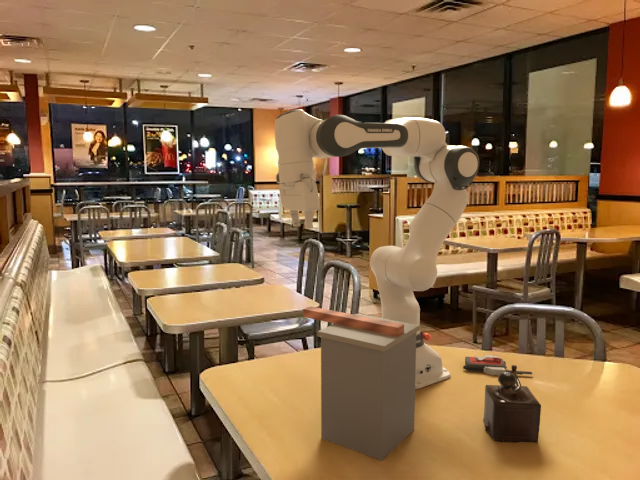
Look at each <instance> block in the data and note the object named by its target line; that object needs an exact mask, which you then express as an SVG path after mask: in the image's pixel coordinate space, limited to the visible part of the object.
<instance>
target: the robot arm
mask: <svg viewBox="0 0 640 480" xmlns="http://www.w3.org/2000/svg"><path fill="white" fill-rule="evenodd" d="M446 138H447V134H446V129H445V127H444V126H443V124H442V123H441V122H440V121H438V120H434V119H432V118H431V119H430V118H425V117H417V116H416V117H415V116H413V117H411V116H409V117H408V116H405V117H397V118H393V119H392V118H391V119H388V120H385V122H362V121H358V120H355V119H353V118H351V117H349V116H347V115H344V114H336V115H335V114H334V115H332V116H329V117H328V118H326V119H324V120H323V119H320V118H317V117H314V116H312V115H311V114H309V113H307V112H306V111H305V110H304V109H302V108H301V109H300V108H295V109H292V110H288V111H286V112H283V113H280V114H279V115H277V117H276V118H275V120H274V142H275V149H276V151H277V155H278V161H277V167H278V171H277V173H276V175H275V180H276V183H277V184H278V189H279V191H278V192H279V196H280V200H281V205H282V207H283V209H284V210H289V216H290V218H291V220H292V221H291V223H292V226H293V227H296V228H297V227H301V226H302V225H301V219H300V217H299V212H303V216H304V221H303V227H304V229H306V230H311V229H313V228H314V223H313V221H314V212H316V211H319V210H320V208H321V204H320V203H321V202H320V197H319V192H318V186H317V183H316V180H315V176H314V173H315V172H314V165H313V164H314V163H313V158H316V159H322V160H323V159H329V158H337V157H338V158H339V157H340V158H342V157H346V156H349V155H351V154H353V153H355V152H357V151H358V150H361V149H381V150H382V151H383V153H384V154H385V155H386V156H391V157H393V158H394V157H396V158H414V160H413V165H414V171H415V174H416V175H417V177H418V178H419V179H421V180H422V181H424V182H426V183H434V184H433V185H434V186H433V190H432V192H431V195H430V196H429V197H428V198H427V200H426V201H425V202H424V203H423V205H422V206H421V208H420V209H419V210H418V212H417V213H416V215H414V217H413V218H412V220H411V221H410V222H409V225H408V231H409V236H408V239H407V240H406V241H407V242H406V243H405V245H404V246H403V247H400V246H396V245H384V246H380V247H377V248H376V249H375V250H373V252H372V254H371V256H370V259H369V266H370V270H371V271H372V273H373V275H374V278H375V280H376V284H377V289H378V292H379V293H378V294H379V299H380V303H381V304H380V305H381V318H383V319H388V320H393V321H399V322H404V323H409V324H414V325H419V326H420V322H421V321H420V320H421V319H420V318H421V317H420V316H421V315H420V312H421V308H420V305H419V302H418V301H417V299H416V296H415V294H414V292H424V291H427V290H429V289H430V288H431V287H432V286H433V285H435V282H436V280H437V278H438V267H437V265H436V263H437V260H438V259H437V258H438V255H439V253H440V252H439V251H440V249H441V247H442V246H443V244H444V242H445V241H446V240H447V238H448V236H449V235H450V233H451V232H452V231H453V229H454V227H455V226H456V225H457V223H458V222H459V220H460V218H461V217H462V215H463V213H464V212H465V209H466V207H467V205H468V203H469V199H470V197H469V196H470V195H469V192H468V191H467V189H468V188H469V187H471V186H472V184H473V182H474V180H475V178H476V176H477V175H478V172H479V169H480V157H479V155H478V152H476V151H475V150H474V149H473V148H471V147H469V146H466V145H462V144H461V145H459V144H458V145H451V144H450V145H449V144H448V143H447V142H446ZM431 339H432V335H431V334H430V333H428V332H423V331H421V330H419V331H418V332H416V371H415V390H420V389H422V388H425V387H426V386H430V385H433V384H435V383H439V382H441V381H444V380H447V379H450V378H451V373H450V371H449V370H448V369H447V368H446V367H444V365H443V360H442V356H440V353H438V352H437V351H436V350H434V348H432V347H430V346H429V344H426V343H425V341H427V342H429V341H430V340H431ZM424 340H425V341H424Z"/></svg>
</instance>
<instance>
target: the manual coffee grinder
mask: <svg viewBox="0 0 640 480" xmlns="http://www.w3.org/2000/svg"><path fill="white" fill-rule="evenodd" d="M510 370H511V372H503V373H500V375H498V378H497V382H498V383H499V384H500V385H499V384H486V385H485V387H484V404H483V405H484V408H483V419H482V421H483V423H484V428H485V430H486V432H488V434H489V435H490V437H491V438H492V439H493V440H494V441H496V442H502V443H518V442H534V443H538V442H539V433H540V423H541V415H542V414H541V412H542V404H541V403H540V402H539V401H538V399H537V397H536V396H535V395H534V394H533V393H532V391H531V390H530V389H529V388H528V386H527V385H526V386H525V385H522V384H521V381H520V379H519V376H518V374H517V373H516V372H517V371H518V367H517V365H515V364H512V365H511V369H510Z"/></svg>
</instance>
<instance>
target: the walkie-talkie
mask: <svg viewBox="0 0 640 480" xmlns="http://www.w3.org/2000/svg"><path fill="white" fill-rule="evenodd" d="M506 363H507V362H506V361H505V360H504V359H503V358H501V357H500V356H499V355H496V354H495V355H494V354H493V355H492V354H485V355H483V356H481V357H480V356H479V355H475V356H465V358H464V365H463V367H462V369H463V370H466V371H467V372H473V373H474V372H477V373H484V374H487V375H490V376H499V375H500V373H503V372H511V370H512V369H510V370H509V369H507V364H506ZM516 371H517V372H516V373H517V375H520V376H521V375H533V372H532V371H527V370H526V371H525V370H516Z"/></svg>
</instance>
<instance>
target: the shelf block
mask: <svg viewBox="0 0 640 480" xmlns="http://www.w3.org/2000/svg"><path fill="white" fill-rule="evenodd" d="M354 315H358V316H363V317H369V318H374V319H379V320H384V321H389V322H395V323H400V324H404V333H403V334H401V335H400V336H398V337H397V336H393V335H388V334H383V333H378V332H373V331H369V330H364V329H359V328H354V327H349V326H345V325H340V324H335V323H332V324H331V325H328V326H327V327H324V328H322V329H319V330H317V337H319V338H320V386H321V387H320V389H321V391H320V399H321V400H320V401H321V402H320V405H321V406H320V407H321V408H320V413H321V415H320V418H321V419H320V420H321V421H320V422H321V426H320V427H321V429H320V431H321V432H320V435H321V439H322V440H324V441H327V442H330V443H332V444H335V445H338V446H341V447H344V448H346V449H349V450H352V451H353V452H357V453H360V454H363V455H365V456H368V457H371V458H374V459H377V460H379V461H383V460H384V459H385V458H386V457H388V455H389V454H391V453H392V452H393V451H394V449H396V448H397V447H398V446H399V445H400V444H401V443H403V442H404V440H406V438H407V437H408V436H410V434H411V433H413V431H415V408H416V407H415V406H416V389H415V371H416V332H418V331H420V324H419V325H414V324H409V323H404V322H399V321H393V320H388V319H383V318H382V317H378V316H372V315H368V314H367V315H366V314H360V313H355V314H354Z"/></svg>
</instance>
